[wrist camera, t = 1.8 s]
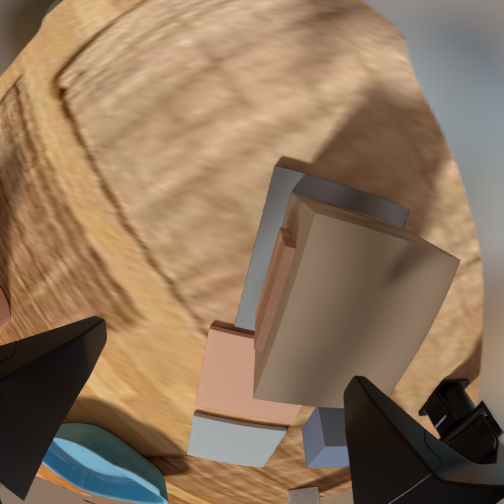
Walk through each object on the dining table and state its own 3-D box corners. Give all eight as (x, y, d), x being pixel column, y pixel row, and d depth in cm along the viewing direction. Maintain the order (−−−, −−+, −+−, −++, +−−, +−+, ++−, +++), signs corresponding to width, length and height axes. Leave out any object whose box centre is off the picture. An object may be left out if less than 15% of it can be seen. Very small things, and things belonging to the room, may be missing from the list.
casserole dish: (106, 405, 29) (86, 442, 22) (199, 479, 34) (193, 510, 27) (22, 414, 35) (9, 433, 28) (87, 472, 40) (79, 491, 34)
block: (355, 406, 26) (368, 445, 20) (338, 430, 28) (346, 466, 22) (317, 404, 26) (325, 446, 20) (301, 428, 27) (306, 467, 22)
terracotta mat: (329, 348, 23) (330, 352, 23) (291, 418, 27) (292, 422, 26) (210, 325, 23) (209, 328, 22) (196, 402, 26) (195, 405, 26)
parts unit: (404, 207, 19) (485, 239, 10) (351, 342, 23) (385, 422, 14) (274, 165, 19) (286, 163, 9) (235, 321, 23) (220, 409, 13)
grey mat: (286, 427, 27) (286, 431, 27) (262, 464, 31) (262, 467, 30) (194, 411, 27) (193, 415, 26) (187, 451, 30) (187, 454, 30)
